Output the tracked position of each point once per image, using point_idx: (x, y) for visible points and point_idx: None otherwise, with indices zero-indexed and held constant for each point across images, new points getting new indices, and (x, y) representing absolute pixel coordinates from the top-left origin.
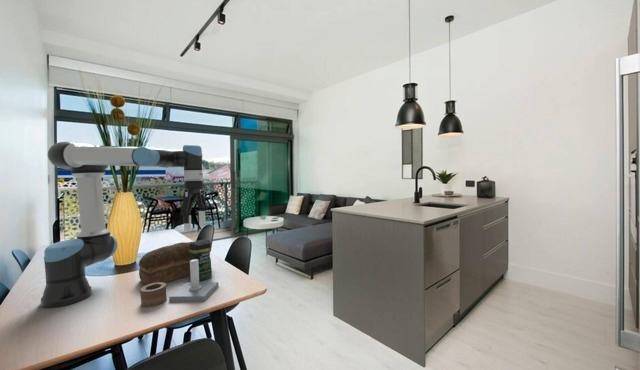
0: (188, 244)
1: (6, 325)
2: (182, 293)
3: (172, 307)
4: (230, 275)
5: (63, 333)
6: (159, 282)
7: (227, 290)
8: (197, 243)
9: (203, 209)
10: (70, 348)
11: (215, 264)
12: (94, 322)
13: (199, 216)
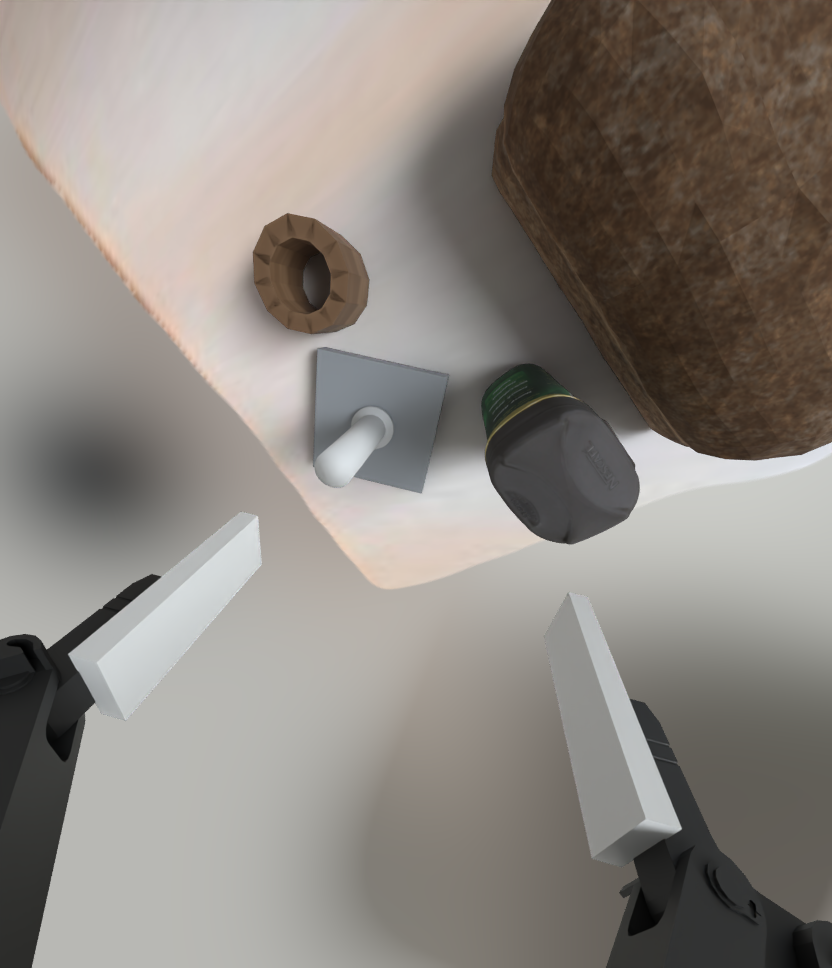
0: (765, 339)
1: None
2: (338, 391)
3: (285, 374)
4: None
5: (97, 8)
6: (347, 283)
7: (385, 513)
8: (514, 478)
9: (637, 901)
10: (55, 148)
11: None
12: (177, 101)
13: (599, 702)
